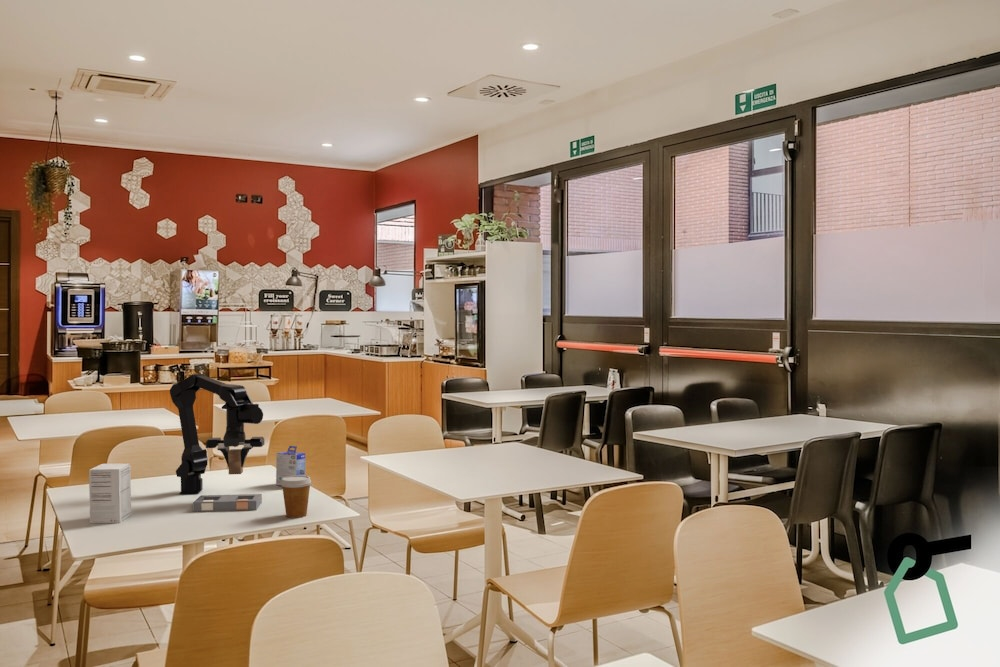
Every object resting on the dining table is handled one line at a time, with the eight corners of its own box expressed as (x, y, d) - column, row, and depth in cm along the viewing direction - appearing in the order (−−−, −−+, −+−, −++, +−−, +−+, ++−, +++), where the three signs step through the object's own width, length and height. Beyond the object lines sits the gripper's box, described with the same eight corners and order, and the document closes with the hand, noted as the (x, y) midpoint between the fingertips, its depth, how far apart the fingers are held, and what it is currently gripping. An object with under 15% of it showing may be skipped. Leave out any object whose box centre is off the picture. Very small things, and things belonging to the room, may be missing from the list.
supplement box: (102, 515, 257) (101, 463, 257) (132, 515, 258) (131, 462, 258) (89, 523, 248) (88, 469, 247) (120, 523, 249) (119, 468, 248)
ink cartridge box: (306, 485, 303) (306, 446, 302) (296, 487, 298) (296, 448, 297) (285, 482, 307) (284, 444, 307) (275, 485, 302) (275, 446, 301)
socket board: (192, 511, 262) (192, 502, 262) (200, 504, 273) (200, 494, 272) (256, 510, 265) (256, 500, 265) (261, 502, 275) (261, 493, 275)
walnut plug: (228, 474, 278) (228, 451, 278) (231, 472, 282) (230, 449, 282) (240, 474, 279) (240, 451, 278) (242, 471, 283) (242, 449, 282)
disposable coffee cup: (299, 510, 264) (299, 473, 264) (317, 515, 258) (317, 477, 258) (274, 516, 257) (274, 478, 257) (293, 521, 251) (292, 482, 251)
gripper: (201, 426, 271) (202, 472, 271) (258, 424, 273) (259, 471, 273) (209, 421, 282) (210, 466, 282) (264, 420, 284) (264, 464, 284)
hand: (235, 467), depth 280 cm, fingers closed on walnut plug, 4 cm apart
